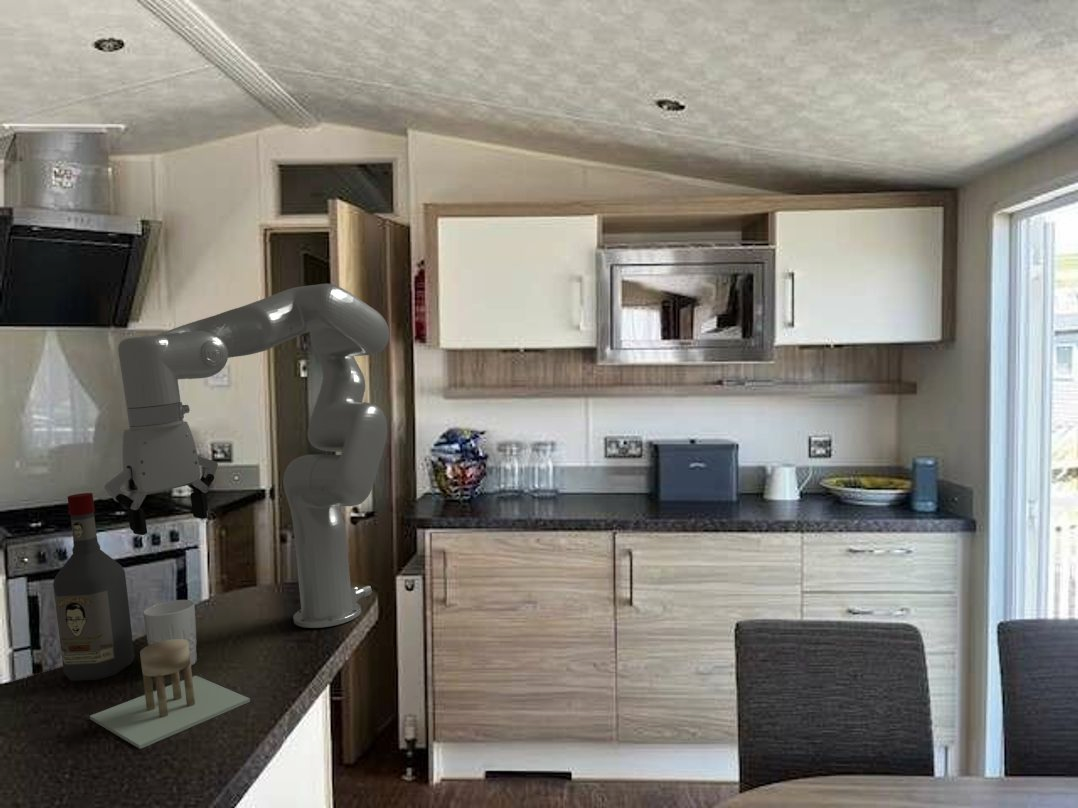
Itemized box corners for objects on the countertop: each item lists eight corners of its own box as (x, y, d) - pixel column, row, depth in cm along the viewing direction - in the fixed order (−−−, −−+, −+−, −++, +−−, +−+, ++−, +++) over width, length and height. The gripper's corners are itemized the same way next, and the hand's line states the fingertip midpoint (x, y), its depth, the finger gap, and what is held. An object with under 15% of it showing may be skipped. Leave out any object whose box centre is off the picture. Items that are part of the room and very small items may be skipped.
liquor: (91, 660, 139) (71, 491, 137) (141, 657, 139) (122, 488, 136) (56, 682, 130) (34, 502, 128) (110, 680, 130) (89, 499, 127)
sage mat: (196, 678, 128) (195, 675, 128) (250, 701, 118) (249, 698, 118) (90, 719, 115) (89, 715, 115) (140, 749, 105) (139, 745, 105)
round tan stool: (181, 693, 121) (175, 636, 120) (202, 703, 117) (196, 643, 116) (138, 710, 116) (132, 650, 115) (159, 721, 112) (152, 659, 111)
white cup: (180, 675, 130) (174, 615, 129) (138, 674, 131) (132, 615, 130) (210, 656, 137) (204, 599, 136) (169, 655, 139) (163, 599, 138)
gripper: (196, 408, 131) (210, 509, 133) (85, 425, 117) (102, 538, 119) (220, 408, 126) (235, 513, 128) (108, 426, 113) (126, 543, 115)
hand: (171, 525), depth 124 cm, fingers open, 9 cm apart
